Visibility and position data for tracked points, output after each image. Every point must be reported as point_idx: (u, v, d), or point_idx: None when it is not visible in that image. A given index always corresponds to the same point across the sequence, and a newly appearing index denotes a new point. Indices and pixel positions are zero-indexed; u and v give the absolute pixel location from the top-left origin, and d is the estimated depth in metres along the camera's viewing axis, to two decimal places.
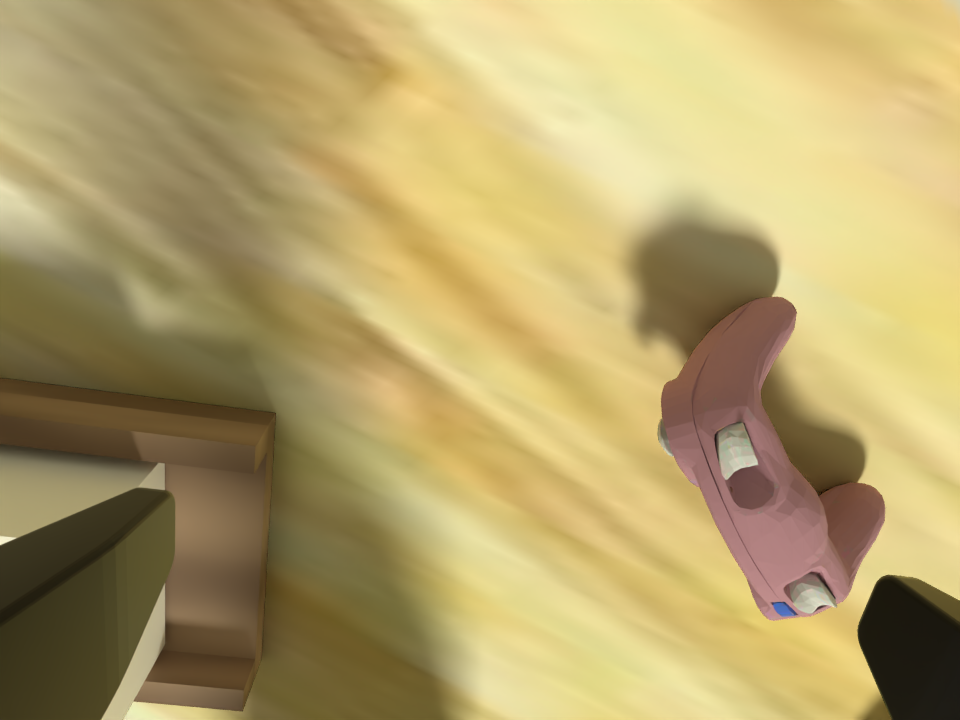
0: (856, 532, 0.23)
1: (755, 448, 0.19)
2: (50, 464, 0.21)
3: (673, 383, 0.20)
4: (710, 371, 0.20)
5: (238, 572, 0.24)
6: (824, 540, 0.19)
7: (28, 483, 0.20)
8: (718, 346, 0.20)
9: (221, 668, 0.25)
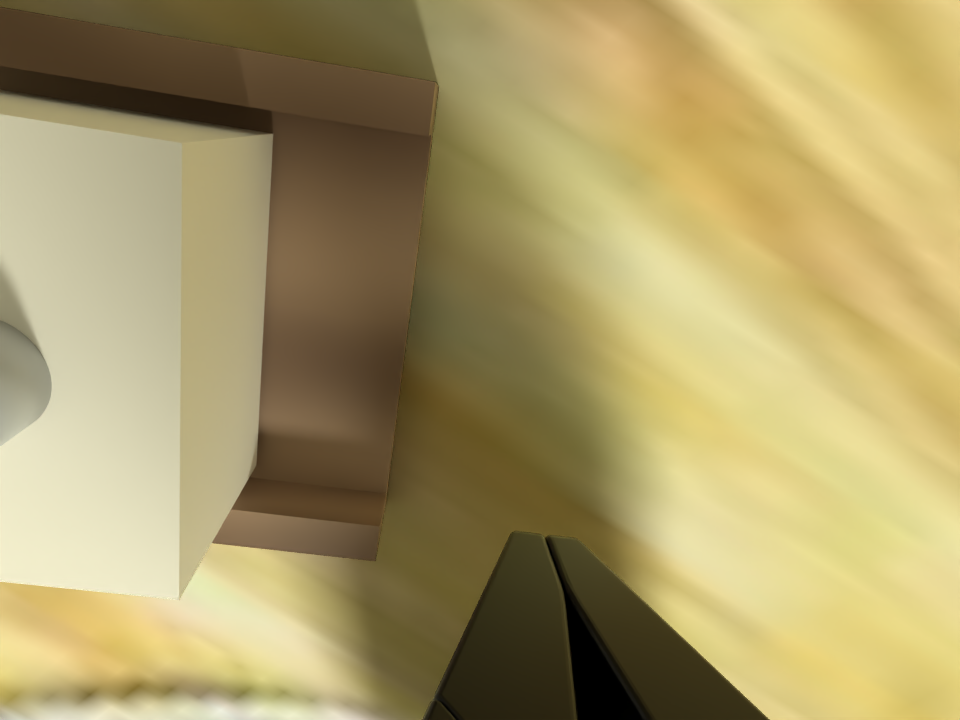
0: None
1: None
2: (97, 110, 0.13)
3: None
4: None
5: (371, 348, 0.16)
6: None
7: (64, 109, 0.12)
8: None
9: (340, 501, 0.17)
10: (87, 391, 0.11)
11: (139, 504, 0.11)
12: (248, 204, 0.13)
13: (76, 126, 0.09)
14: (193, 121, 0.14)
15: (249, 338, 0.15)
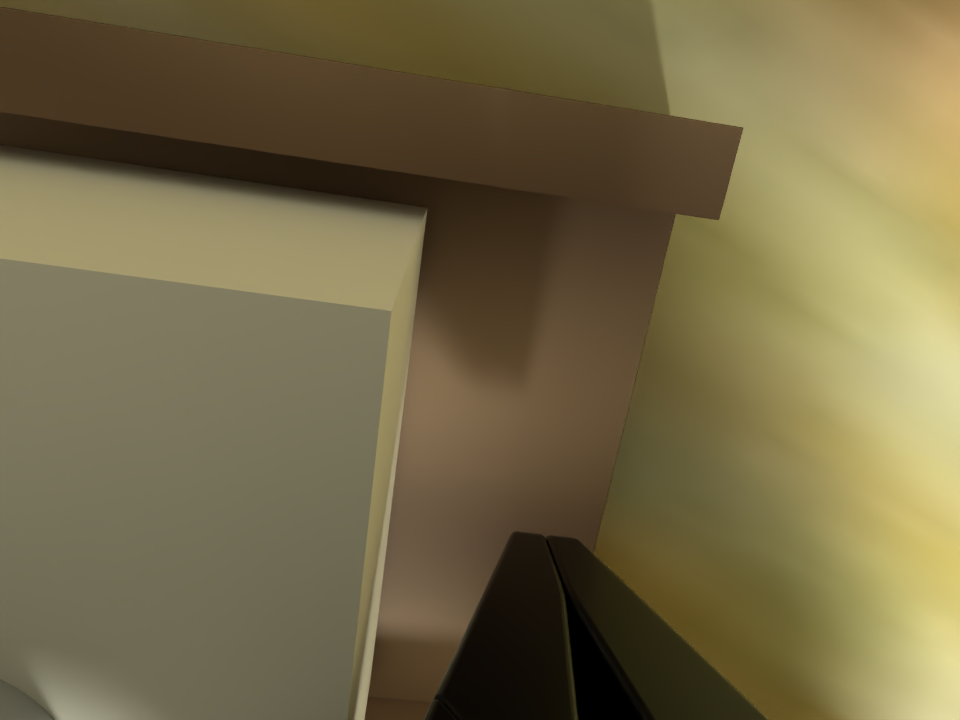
0: None
1: None
2: (149, 183, 0.07)
3: None
4: None
5: (552, 520, 0.11)
6: None
7: (96, 194, 0.06)
8: None
9: None
10: None
11: None
12: (407, 339, 0.08)
13: (142, 276, 0.04)
14: (301, 191, 0.08)
15: (385, 534, 0.09)
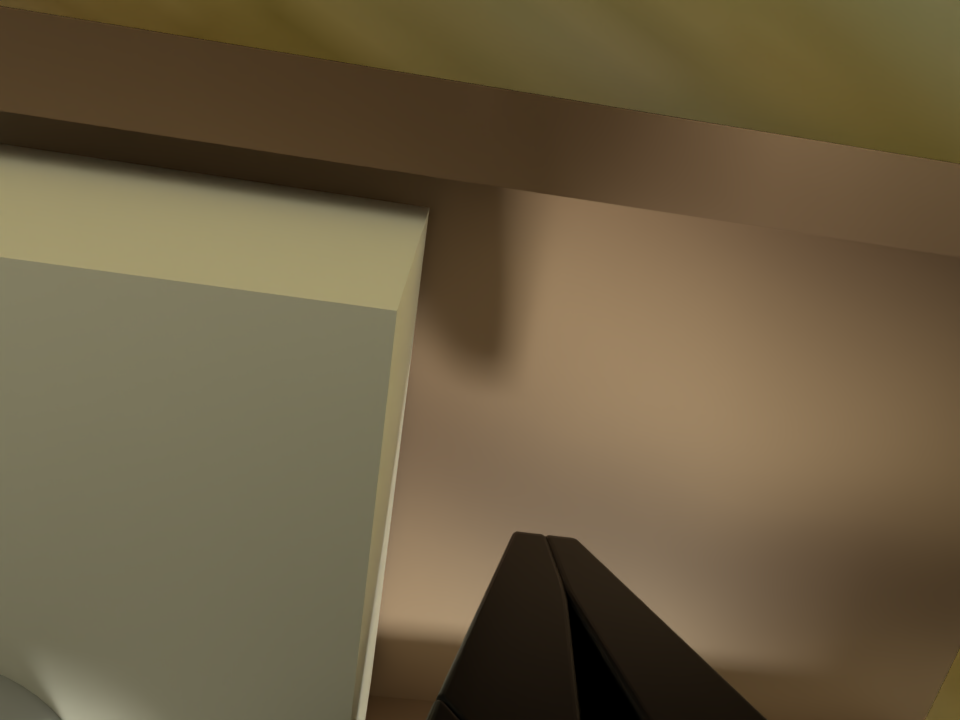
0: None
1: None
2: (153, 182, 0.07)
3: None
4: None
5: (955, 564, 0.11)
6: None
7: (100, 193, 0.06)
8: None
9: None
10: None
11: None
12: (409, 339, 0.08)
13: (149, 276, 0.04)
14: (303, 190, 0.08)
15: (387, 533, 0.09)
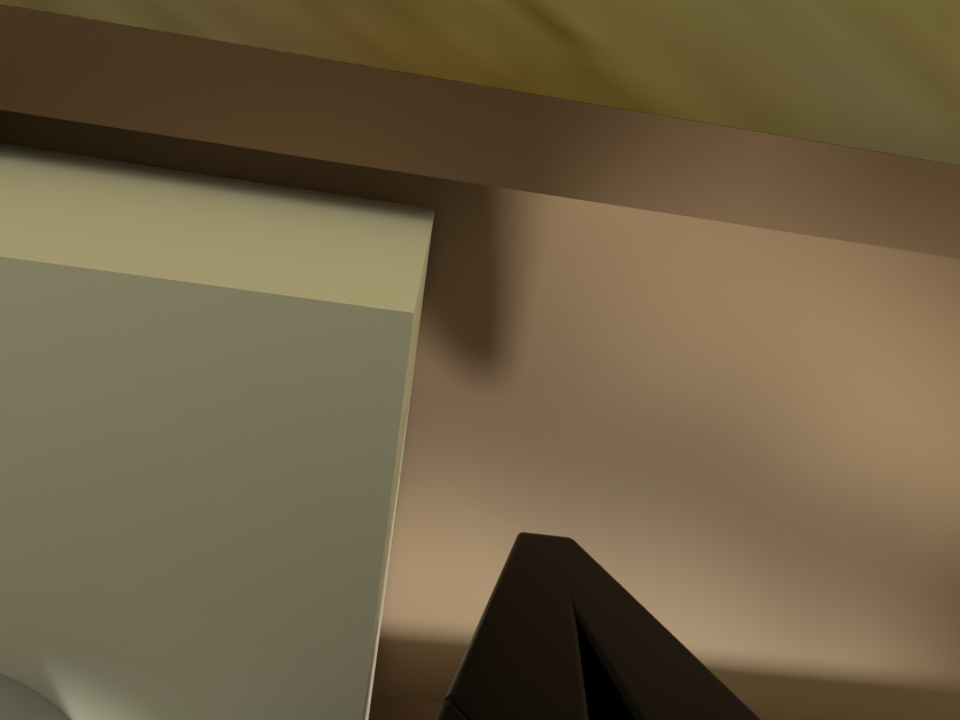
0: None
1: None
2: (159, 183, 0.07)
3: None
4: None
5: None
6: None
7: (109, 194, 0.06)
8: None
9: None
10: None
11: None
12: (416, 339, 0.08)
13: (165, 277, 0.04)
14: (308, 191, 0.08)
15: None
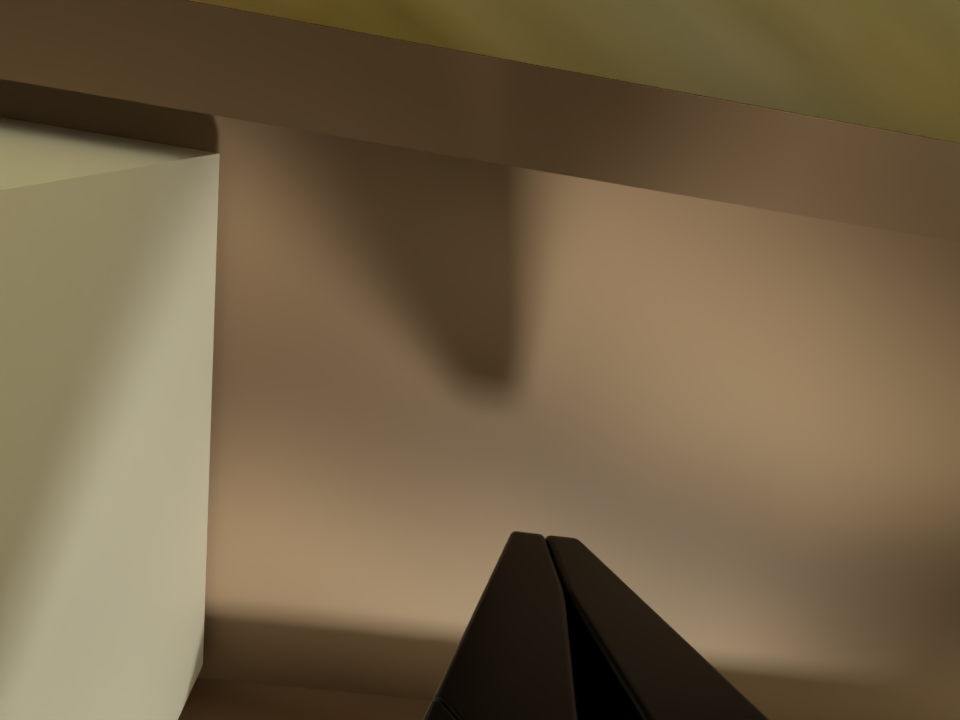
0: None
1: None
2: None
3: None
4: None
5: None
6: None
7: None
8: None
9: None
10: None
11: None
12: (162, 288, 0.07)
13: None
14: (75, 131, 0.08)
15: (178, 503, 0.08)
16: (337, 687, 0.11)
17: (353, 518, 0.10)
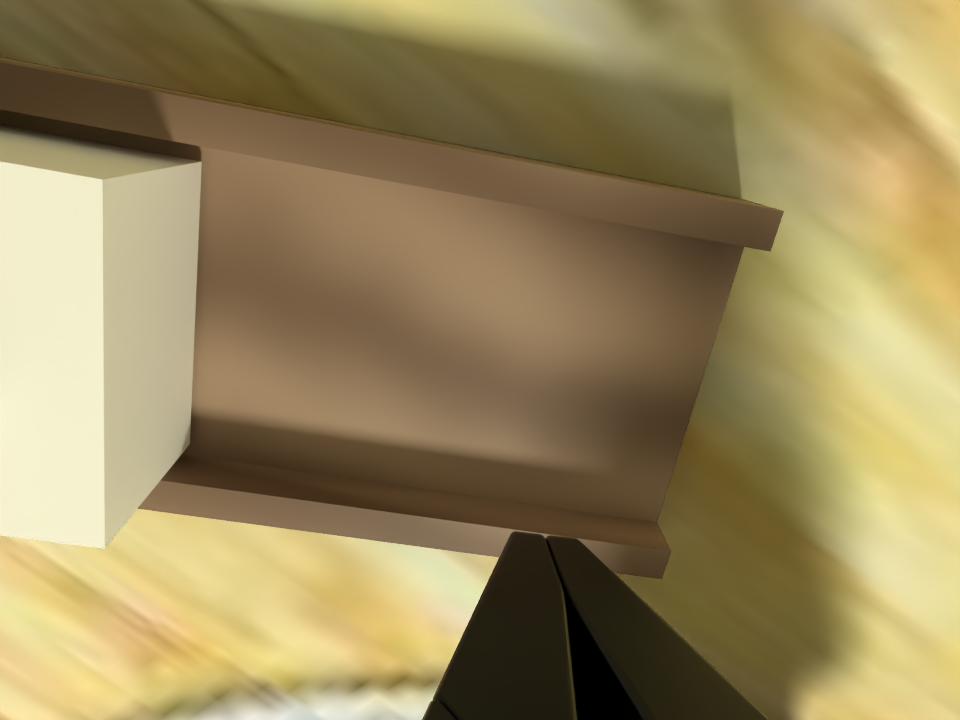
0: None
1: None
2: (48, 141, 0.15)
3: None
4: None
5: (667, 405, 0.20)
6: None
7: (17, 143, 0.14)
8: None
9: (628, 528, 0.20)
10: (27, 374, 0.13)
11: (71, 467, 0.14)
12: (173, 222, 0.16)
13: (18, 164, 0.12)
14: (133, 150, 0.16)
15: (178, 334, 0.17)
16: (265, 463, 0.20)
17: (272, 359, 0.19)
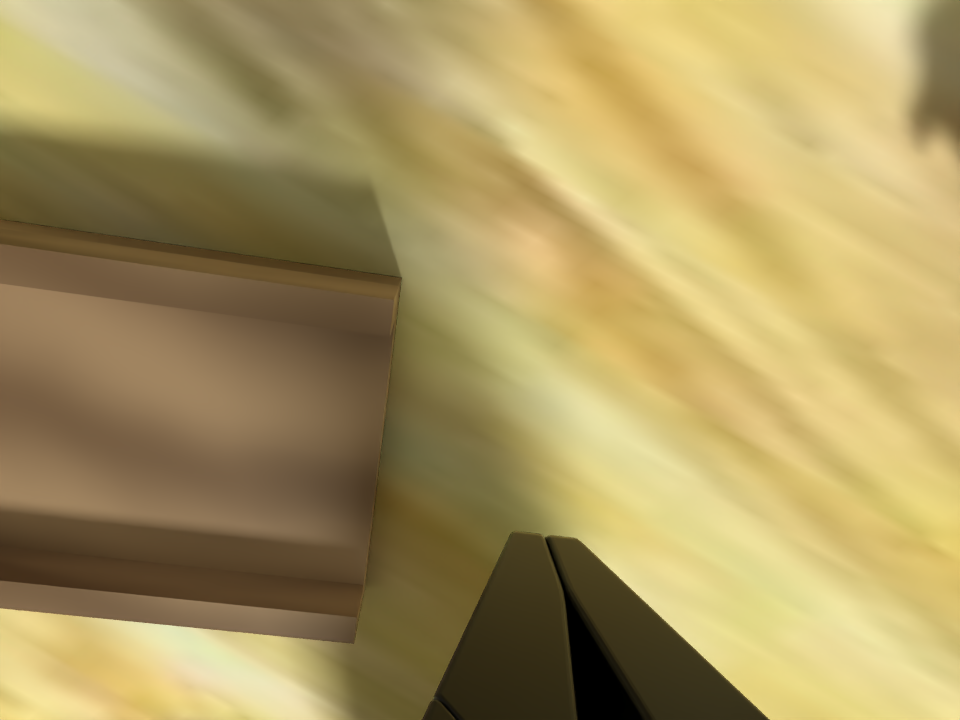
0: None
1: None
2: None
3: None
4: None
5: (350, 475, 0.20)
6: None
7: None
8: None
9: (326, 594, 0.21)
10: None
11: None
12: None
13: None
14: None
15: None
16: None
17: None
